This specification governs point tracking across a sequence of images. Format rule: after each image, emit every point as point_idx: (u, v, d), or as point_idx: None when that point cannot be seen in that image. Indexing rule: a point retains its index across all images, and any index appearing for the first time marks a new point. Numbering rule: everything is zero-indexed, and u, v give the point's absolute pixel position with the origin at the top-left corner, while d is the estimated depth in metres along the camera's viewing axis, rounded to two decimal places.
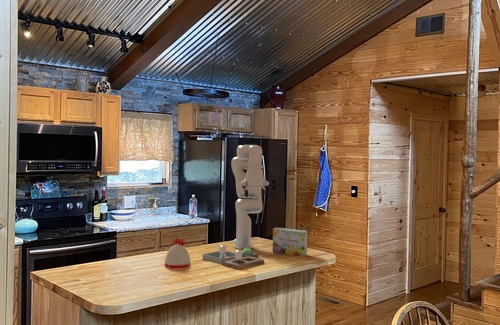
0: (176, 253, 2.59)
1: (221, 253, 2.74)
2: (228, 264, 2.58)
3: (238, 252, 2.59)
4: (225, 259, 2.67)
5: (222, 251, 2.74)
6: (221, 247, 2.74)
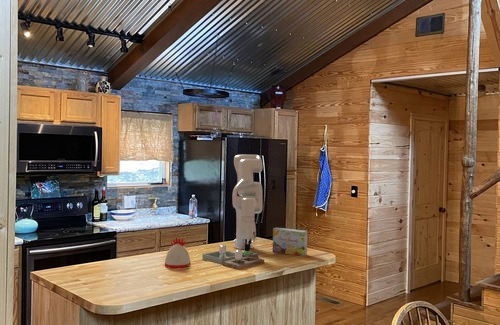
0: (176, 253, 2.59)
1: (221, 253, 2.74)
2: (228, 264, 2.58)
3: (238, 252, 2.59)
4: (225, 259, 2.67)
5: (222, 251, 2.74)
6: (221, 247, 2.74)
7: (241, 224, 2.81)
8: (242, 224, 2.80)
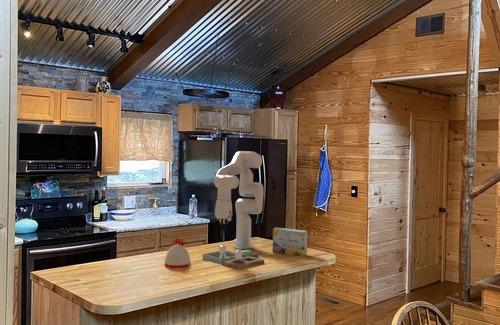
0: (176, 253, 2.59)
1: (221, 253, 2.74)
2: (228, 264, 2.58)
3: (238, 252, 2.59)
4: (225, 259, 2.67)
5: (222, 251, 2.74)
6: (221, 247, 2.74)
7: (217, 203, 2.75)
8: (218, 203, 2.74)
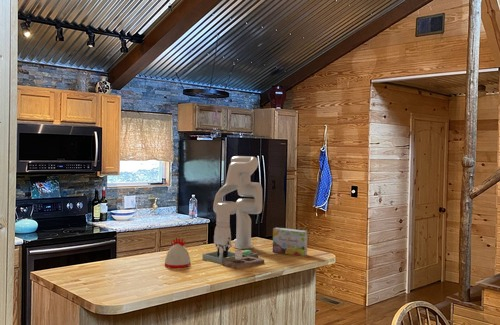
0: (176, 253, 2.59)
1: (221, 253, 2.74)
2: (228, 264, 2.58)
3: (238, 252, 2.59)
4: (225, 259, 2.67)
5: (222, 251, 2.74)
6: (221, 247, 2.74)
7: (216, 230, 2.76)
8: (217, 230, 2.75)
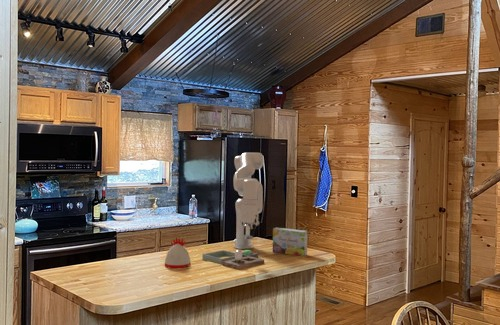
0: (176, 253, 2.59)
1: (248, 231, 2.65)
2: (228, 264, 2.58)
3: (238, 252, 2.59)
4: (225, 259, 2.67)
5: (249, 229, 2.65)
6: (248, 225, 2.65)
7: (243, 207, 2.66)
8: (244, 207, 2.65)
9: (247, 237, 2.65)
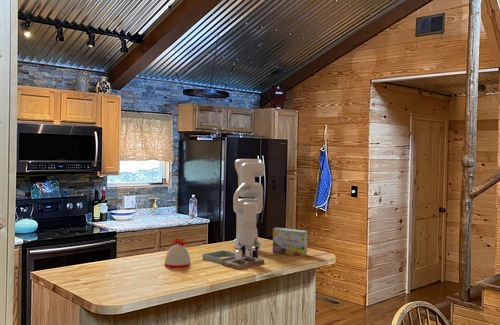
0: (176, 253, 2.59)
1: (248, 256, 2.65)
2: (228, 264, 2.58)
3: (238, 252, 2.59)
4: (225, 259, 2.67)
5: (249, 254, 2.65)
6: (247, 250, 2.65)
7: (242, 230, 2.67)
8: (244, 230, 2.66)
9: None
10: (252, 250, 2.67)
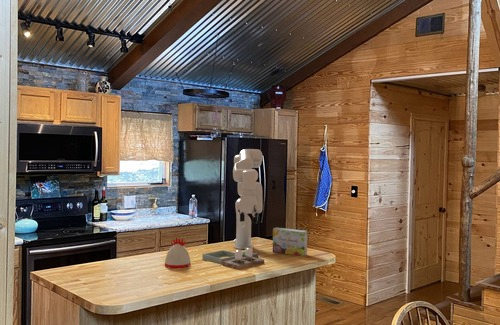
0: (176, 253, 2.59)
1: (248, 256, 2.65)
2: (228, 264, 2.58)
3: (238, 252, 2.59)
4: (225, 259, 2.67)
5: (249, 254, 2.65)
6: (248, 250, 2.65)
7: (242, 197, 2.72)
8: (243, 198, 2.71)
9: None
10: (252, 250, 2.67)
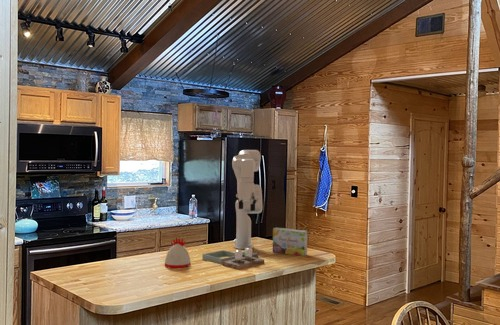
0: (176, 253, 2.59)
1: (248, 256, 2.65)
2: (228, 264, 2.58)
3: (238, 252, 2.59)
4: (225, 259, 2.67)
5: (248, 254, 2.65)
6: (247, 250, 2.65)
7: (240, 185, 2.83)
8: (242, 185, 2.82)
9: None
10: None
